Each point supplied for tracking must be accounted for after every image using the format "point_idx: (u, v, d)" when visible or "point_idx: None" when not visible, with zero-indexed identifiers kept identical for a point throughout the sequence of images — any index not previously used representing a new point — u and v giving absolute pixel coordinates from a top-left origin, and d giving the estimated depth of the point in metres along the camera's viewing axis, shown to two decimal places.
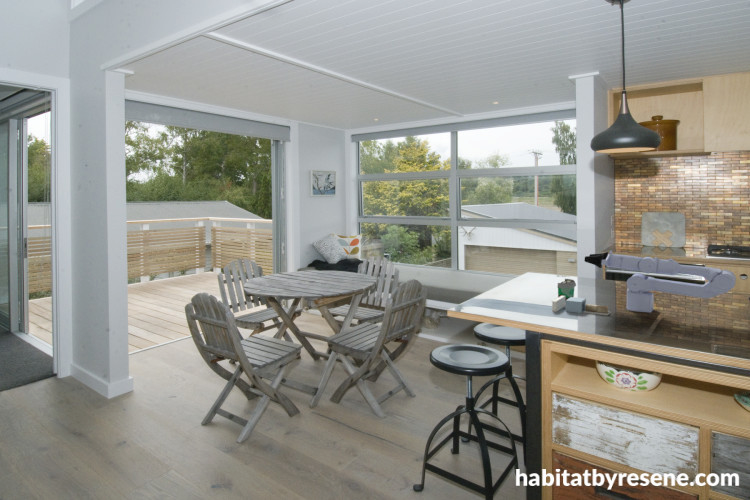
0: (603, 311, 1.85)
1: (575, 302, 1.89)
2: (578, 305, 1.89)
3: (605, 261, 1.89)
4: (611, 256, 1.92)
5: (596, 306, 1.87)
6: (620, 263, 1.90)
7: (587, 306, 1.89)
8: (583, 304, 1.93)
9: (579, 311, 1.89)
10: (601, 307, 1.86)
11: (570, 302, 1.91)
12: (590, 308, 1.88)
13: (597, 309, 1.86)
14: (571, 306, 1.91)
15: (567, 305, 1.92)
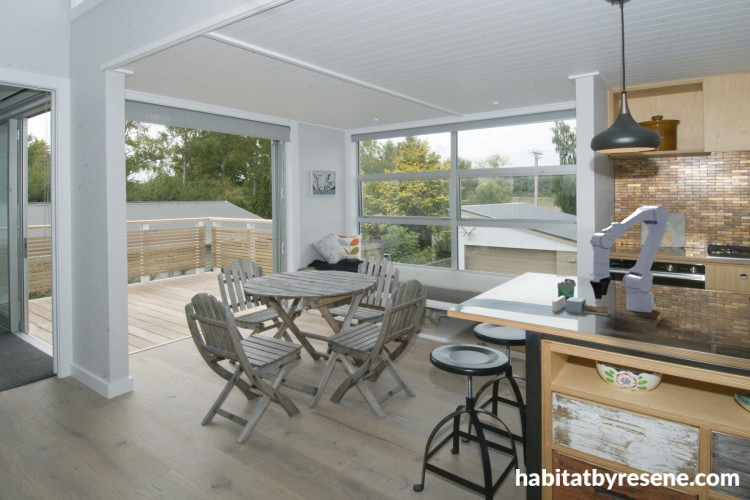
0: (603, 311, 1.85)
1: (575, 302, 1.89)
2: (578, 305, 1.89)
3: (595, 278, 1.80)
4: (594, 273, 1.85)
5: (596, 306, 1.87)
6: (600, 264, 1.83)
7: (587, 306, 1.89)
8: (583, 304, 1.93)
9: (579, 311, 1.89)
10: (601, 307, 1.86)
11: (570, 302, 1.91)
12: (590, 308, 1.88)
13: (597, 309, 1.86)
14: (571, 306, 1.91)
15: (567, 305, 1.92)
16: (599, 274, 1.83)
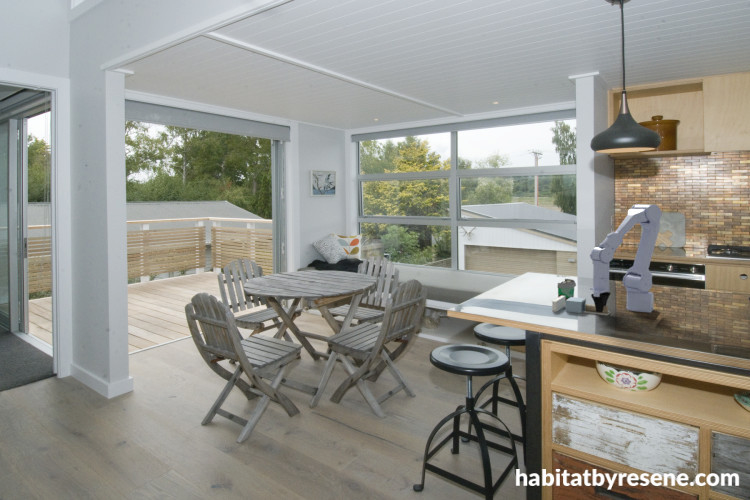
0: (603, 311, 1.85)
1: (575, 302, 1.89)
2: (578, 305, 1.89)
3: (594, 292, 1.81)
4: (594, 287, 1.86)
5: None
6: (600, 279, 1.83)
7: (587, 306, 1.89)
8: (583, 304, 1.93)
9: (579, 311, 1.89)
10: None
11: (570, 302, 1.91)
12: (590, 308, 1.88)
13: None
14: (571, 306, 1.91)
15: (567, 305, 1.92)
16: (599, 288, 1.84)
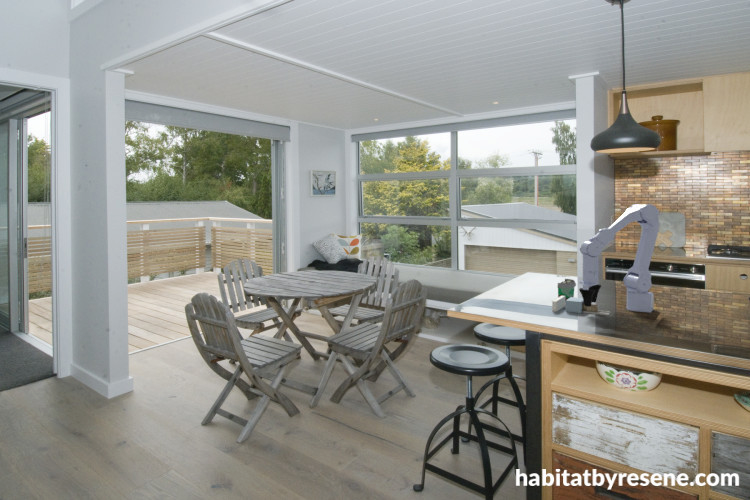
0: (593, 309, 1.88)
1: (575, 302, 1.89)
2: (578, 305, 1.89)
3: (584, 286, 1.83)
4: (583, 280, 1.88)
5: None
6: (589, 272, 1.86)
7: None
8: None
9: (579, 311, 1.89)
10: (591, 305, 1.89)
11: (570, 302, 1.91)
12: None
13: (587, 306, 1.89)
14: (571, 306, 1.91)
15: (567, 305, 1.92)
16: (588, 282, 1.86)
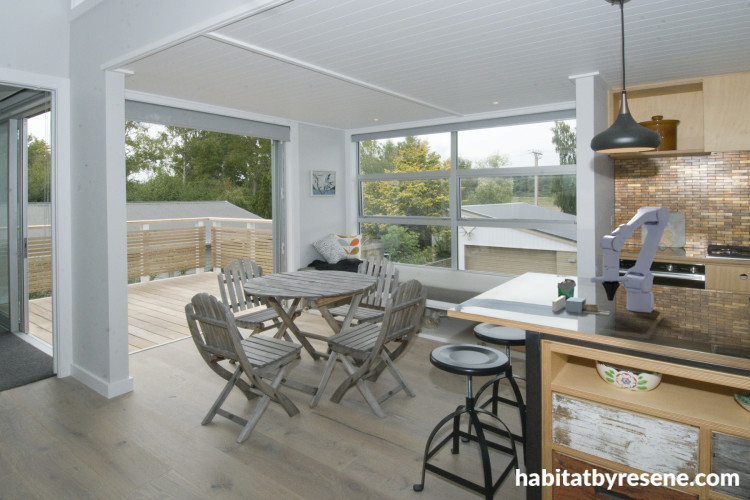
0: (593, 308, 1.88)
1: (575, 302, 1.89)
2: (578, 305, 1.89)
3: (591, 278, 1.85)
4: None
5: (586, 304, 1.90)
6: (604, 266, 1.83)
7: None
8: None
9: (579, 311, 1.89)
10: (591, 305, 1.89)
11: (570, 302, 1.91)
12: None
13: (587, 306, 1.89)
14: (571, 306, 1.91)
15: (567, 305, 1.92)
16: (603, 276, 1.83)
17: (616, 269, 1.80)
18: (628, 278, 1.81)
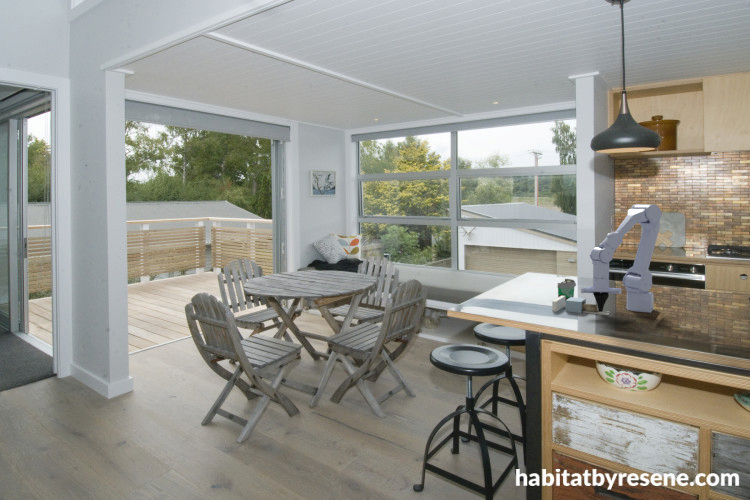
0: (592, 308, 1.88)
1: (575, 302, 1.89)
2: (578, 305, 1.89)
3: None
4: None
5: (586, 304, 1.90)
6: (593, 278, 1.86)
7: None
8: None
9: (579, 311, 1.89)
10: (590, 305, 1.89)
11: (570, 302, 1.91)
12: None
13: (587, 306, 1.89)
14: (571, 306, 1.91)
15: (567, 305, 1.92)
16: (592, 287, 1.87)
17: (605, 281, 1.83)
18: (618, 290, 1.83)
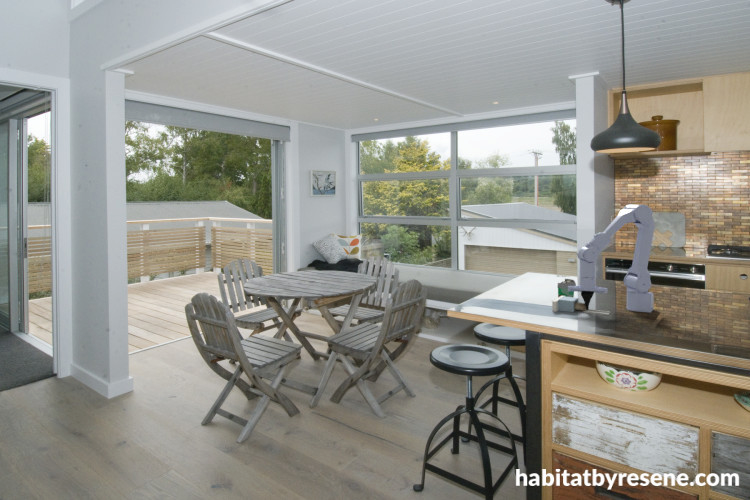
0: (581, 307, 1.91)
1: (567, 301, 1.91)
2: (570, 304, 1.91)
3: (568, 287, 1.93)
4: None
5: (575, 303, 1.93)
6: (580, 276, 1.90)
7: None
8: None
9: (571, 310, 1.91)
10: (579, 303, 1.92)
11: (562, 301, 1.93)
12: None
13: (576, 305, 1.92)
14: (563, 305, 1.92)
15: (559, 304, 1.93)
16: (579, 286, 1.90)
17: (589, 280, 1.86)
18: (604, 289, 1.85)
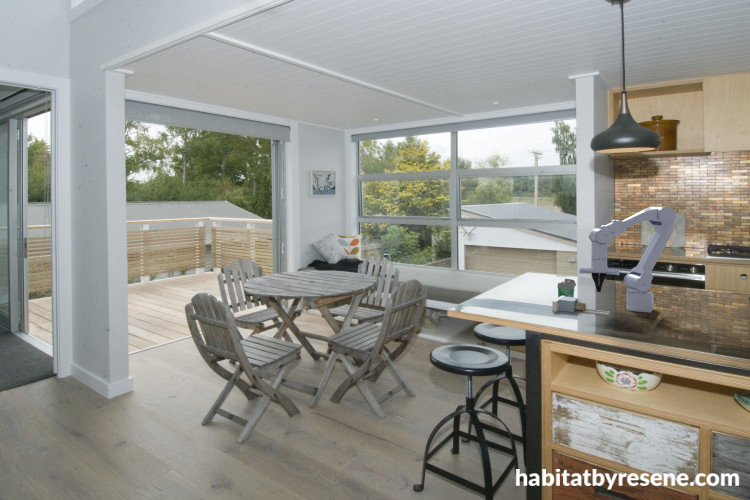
0: (581, 307, 1.91)
1: (567, 301, 1.91)
2: (570, 304, 1.91)
3: (579, 269, 1.92)
4: None
5: (575, 303, 1.93)
6: (591, 258, 1.89)
7: None
8: None
9: (571, 310, 1.91)
10: (579, 303, 1.92)
11: (562, 301, 1.93)
12: None
13: (576, 305, 1.92)
14: (563, 305, 1.92)
15: (559, 304, 1.93)
16: (591, 268, 1.90)
17: (601, 261, 1.85)
18: (616, 271, 1.85)
